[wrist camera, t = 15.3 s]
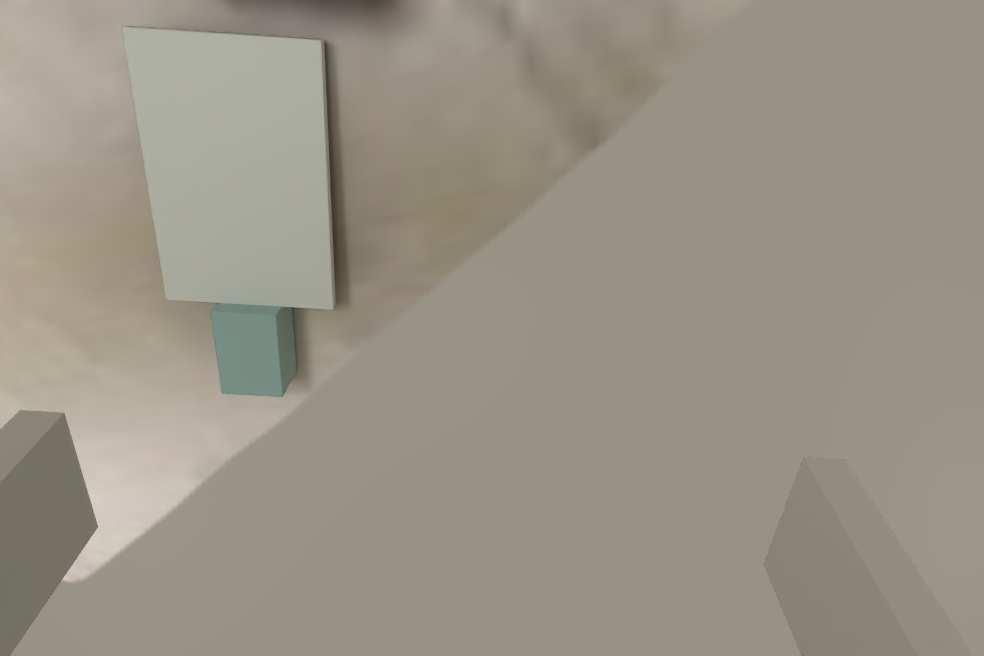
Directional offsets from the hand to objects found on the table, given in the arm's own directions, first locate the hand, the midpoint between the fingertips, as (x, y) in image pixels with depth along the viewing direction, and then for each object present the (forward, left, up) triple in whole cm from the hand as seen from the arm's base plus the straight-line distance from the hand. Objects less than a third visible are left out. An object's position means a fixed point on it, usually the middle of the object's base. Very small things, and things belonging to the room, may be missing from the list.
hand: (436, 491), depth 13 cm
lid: (+8, -14, -32) cm, 36 cm away
